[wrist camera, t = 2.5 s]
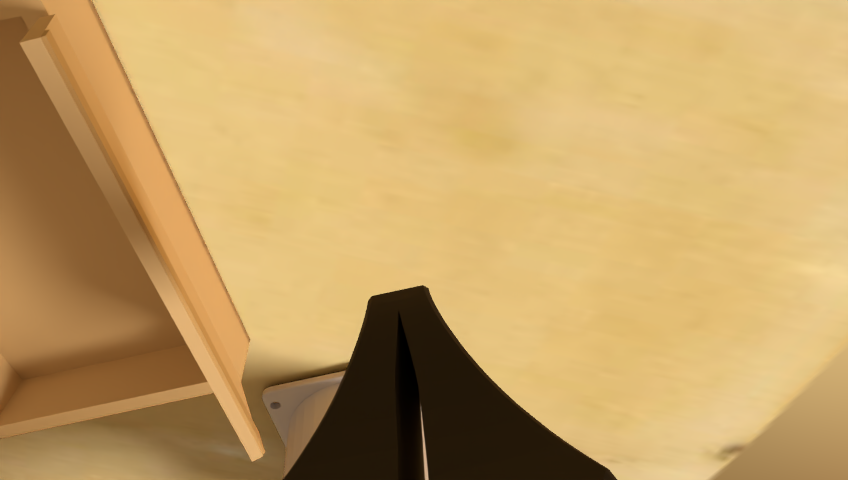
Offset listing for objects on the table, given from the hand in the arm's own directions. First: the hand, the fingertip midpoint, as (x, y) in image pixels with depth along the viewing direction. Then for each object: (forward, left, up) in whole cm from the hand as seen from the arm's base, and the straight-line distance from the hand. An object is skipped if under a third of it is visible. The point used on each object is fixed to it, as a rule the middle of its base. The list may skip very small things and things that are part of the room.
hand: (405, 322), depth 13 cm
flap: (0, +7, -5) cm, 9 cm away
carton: (0, +14, -10) cm, 17 cm away
